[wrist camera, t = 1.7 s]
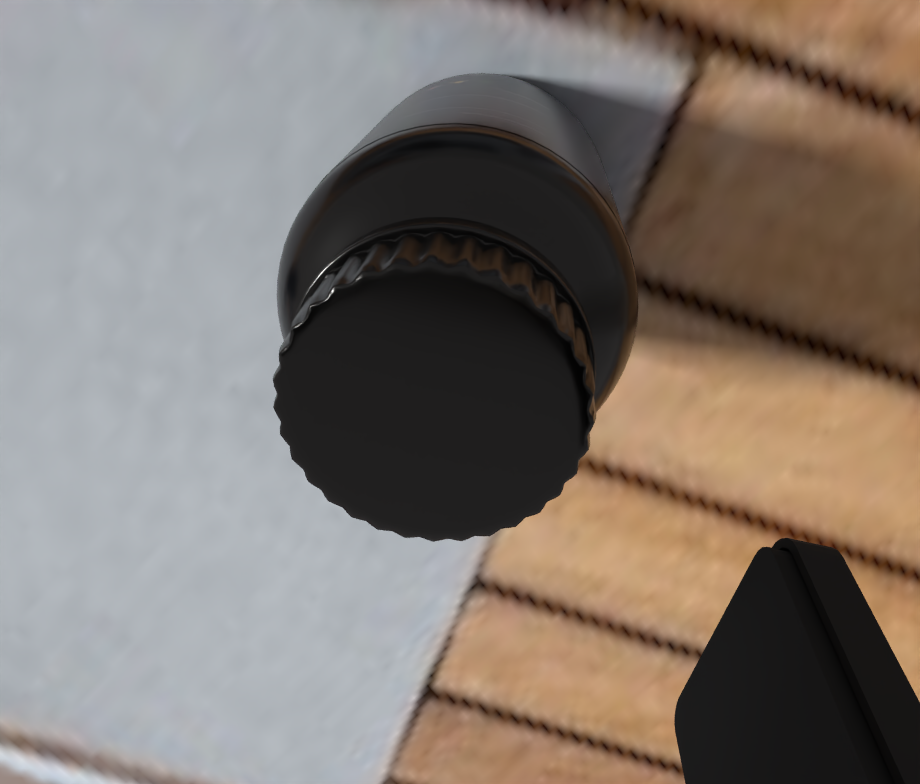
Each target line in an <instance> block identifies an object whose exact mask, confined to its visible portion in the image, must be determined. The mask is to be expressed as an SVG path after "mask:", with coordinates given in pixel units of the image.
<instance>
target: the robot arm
mask: <svg viewBox="0 0 920 784" xmlns="http://www.w3.org/2000/svg"><path fill="white" fill-rule="evenodd" d="M675 732H676V737H677V742H678V748H679V753H680V758H681V763H682V768H683V773H684V778H685V783H686V784H920V702H919V700H918V698H917V696H916V695H915V693H914V691H913V689H912V687H911V685H910V683H909V681H908V679H907V677H906V676H905V674H904V672H903V670H902V668H901V666H900V664H899V662H898V660H897V658H896V657H895V655H894V653H893V651H892V649H891V647H890V645H889V643H888V641H887V640H886V638H885V636H884V634H883V632H882V630H881V628H880V626H879V624H878V622H877V621H876V619H875V617H874V615H873V613H872V611H871V609H870V607H869V605H868V603H867V602H866V600H865V598H864V596H863V594H862V592H861V590H860V588H859V586H858V585H857V583H856V581H855V579H854V577H853V575H852V573H851V571H850V569H849V567H848V566H847V564H846V562H845V560H844V558H843V556H842V555H841V554H840V553H839V551H838V550H836V549H834V548H832V547H827V546H823V545H818V544H813V543H808V542H804V541H799V540H794V539H789V538H782V539H780V540H778V541H777V542H776V543H775V544H774V545H773V547H772V548H770V547H762V548H761V549H760V550H758V552H757V553H756V555H755V556H754V558H753V560H752V562H751V564H750V566H749V567H748V569H747V571H746V573H745V575H744V577H743V579H742V581H741V582H740V584H739V586H738V588H737V590H736V592H735V594H734V596H733V597H732V599H731V601H730V603H729V605H728V607H727V609H726V610H725V612H724V614H723V616H722V618H721V620H720V622H719V624H718V625H717V627H716V629H715V631H714V633H713V635H712V637H711V639H710V640H709V642H708V644H707V646H706V648H705V650H704V652H703V654H702V655H701V657H700V659H699V661H698V663H697V665H696V667H695V668H694V670H693V672H692V674H691V676H690V678H689V680H688V682H687V683H686V685H685V687H684V689H683V691H682V693H681V695H680V697H679V699H678V702H677V705H676V710H675Z"/></svg>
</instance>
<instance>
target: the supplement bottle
mask: <svg viewBox="0 0 920 784" xmlns="http://www.w3.org/2000/svg"><path fill="white" fill-rule="evenodd" d="M277 307H278V316H279V322H280V328H281V332H282V336H283V339H284V342H283V343H282V345H281V347H280V350H279V362H280V365H279V367H278V368H277V370H276V372H275V373H274V376H273V383H274V387H275V389H276V392H277V395H276V398H275V402H274V406H273V408H274V410H275V412H276V414H277V416H278V417H279V419H280V421H281V425H280V435H281V436H282V437H283V439H284V440H285V441H286V442H287V444H288V445H289V446H290V453H291V457H292V460H293V461H295V462H296V463H297V464H298V465H299V466H300V467H301V468H302V469H303V470H304V472H305V476H306V478H307V480H308V482H310V483H311V484H313V485H314V486H316V487H317V488H319V489H321V490H322V492H323V493H324V496H325V497H326V499H327V500H328V501H329V502H331V503H333V504H336V505H338V506H340V507H343V508H344V509H345V510H346V512H347V513H348V514H349V515H350V516H351V517H353V518H356V519H360V520H364V521H367V522H368V523H369V524H371V525H372V526H373V527H375V528H376V529H378V530H386V531H393V532H395V533H397V534H399V535H401V536H403V537H405V538H410V537H421V538H425V539H427V540H430V541H433V542H434V541H439V540H443V539H453V540H458V541H463V540H466V539H469V538H471V537H473V536H491V535H492V534H494V533H496V532H497V531H498V530H500V529H503V528H511V527H516V526H517V525H518V524H519V523H520V522H521V521H522V520H523V519H524V518H525V517H529V516H532V515H535V514H538V513H540V512H541V510H542V509H543V507H544V506H545V504H546V502H548V501H549V500H552V499H554V498H556V497H558V496H559V495H560V494H561V492H562V490H563V486H564V483H565V482H566V481H568V480H569V479H571V478H572V477H573V476H575V475H576V474H577V471H578V466H579V460H580V458H581V457H582V456H584V455H585V453H586V452H587V451H588V450H589V447H590V434H589V432H590V431H591V429H592V427H593V425H594V423H595V420H596V412H597V411H598V410H599V409H600V407H601V406H602V405H603V404H604V403H605V401H606V400H607V398H608V397H609V395H610V394H611V393H612V391H613V390H614V388H615V386H616V385H617V383H618V381H619V379H620V377H621V375H622V373H623V371H624V368H625V366H626V364H627V361H628V359H629V356H630V352H631V349H632V346H633V342H634V338H635V332H636V327H637V316H638V290H637V282H636V275H635V269H634V263H633V259H632V255H631V252H630V248H629V244H628V241H627V238H626V235H625V232H624V229H623V226H622V223H621V220H620V216H619V213H618V210H617V207H616V204H615V201H614V198H613V195H612V192H611V189H610V186H609V183H608V180H607V177H606V174H605V171H604V168H603V165H602V162H601V160H600V157H599V155H598V153H597V150H596V148H595V146H594V144H593V142H592V140H591V138H590V136H589V135H588V133H587V132H586V130H585V128H584V127H583V126H582V124H581V123H580V122H579V121H578V119H577V118H576V117H575V116H574V115H573V114H572V113H571V112H570V111H569V110H568V109H567V107H565V106H564V105H563V104H562V103H561V102H560V101H558V100H557V99H556V98H555V97H553V96H552V95H550V94H549V93H547V92H546V91H544V90H542V89H540V88H538V87H536V86H534V85H532V84H530V83H527V82H525V81H522V80H519V79H516V78H512V77H509V76H503V75H498V74H485V73H479V74H465V75H459V76H454V77H450V78H446V79H443V80H440V81H437V82H435V83H432V84H430V85H428V86H426V87H424V88H422V89H420V90H418V91H417V92H415V93H413V94H412V95H410V96H409V97H407V98H406V99H405V100H404V101H402V102H401V103H400V104H399V105H397V106H396V107H395V108H394V109H393V110H392V111H391V112H389V113H388V114H387V115H386V116H385V117H384V118H383V119H382V120H381V121H380V122H379V123H378V124H377V125H376V126H375V127H374V128H373V129H372V130H371V131H370V132H369V133H368V134H367V135H366V136H365V137H364V138H363V139H362V140H361V141H360V142H359V143H358V144H357V145H356V146H355V147H354V148H353V149H352V150H351V151H350V152H349V153H348V154H347V155H346V156H345V157H344V158H343V159H342V160H341V161H340V162H339V163H338V164H337V165H336V166H335V167H334V168H333V169H332V170H331V171H330V172H329V173H328V174H327V175H326V176H325V178H324V179H323V180H322V181H321V182H320V184H319V185H318V186H317V187H316V188H315V190H314V191H313V192H312V194H311V195H310V196H309V198H308V199H307V201H306V202H305V204H304V205H303V207H302V209H301V210H300V212H299V213H298V215H297V217H296V219H295V221H294V223H293V225H292V227H291V229H290V231H289V234H288V237H287V239H286V242H285V244H284V248H283V252H282V256H281V260H280V266H279V273H278V280H277Z"/></svg>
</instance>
